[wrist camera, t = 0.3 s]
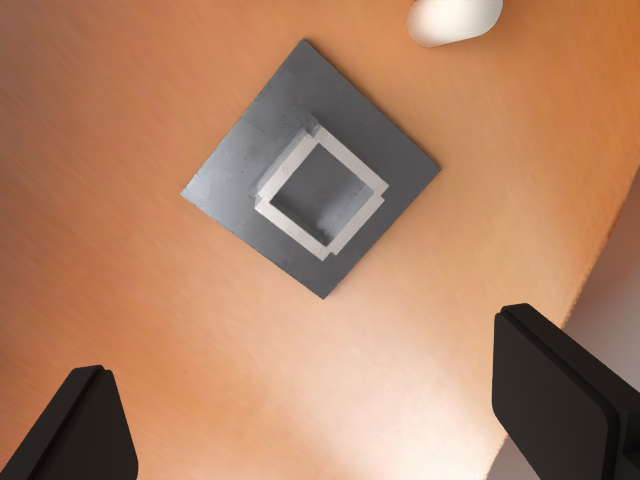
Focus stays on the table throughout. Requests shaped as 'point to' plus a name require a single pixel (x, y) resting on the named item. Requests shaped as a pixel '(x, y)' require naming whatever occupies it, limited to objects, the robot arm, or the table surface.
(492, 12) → the white cylinder
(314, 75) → the bracket
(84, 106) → the table surface
